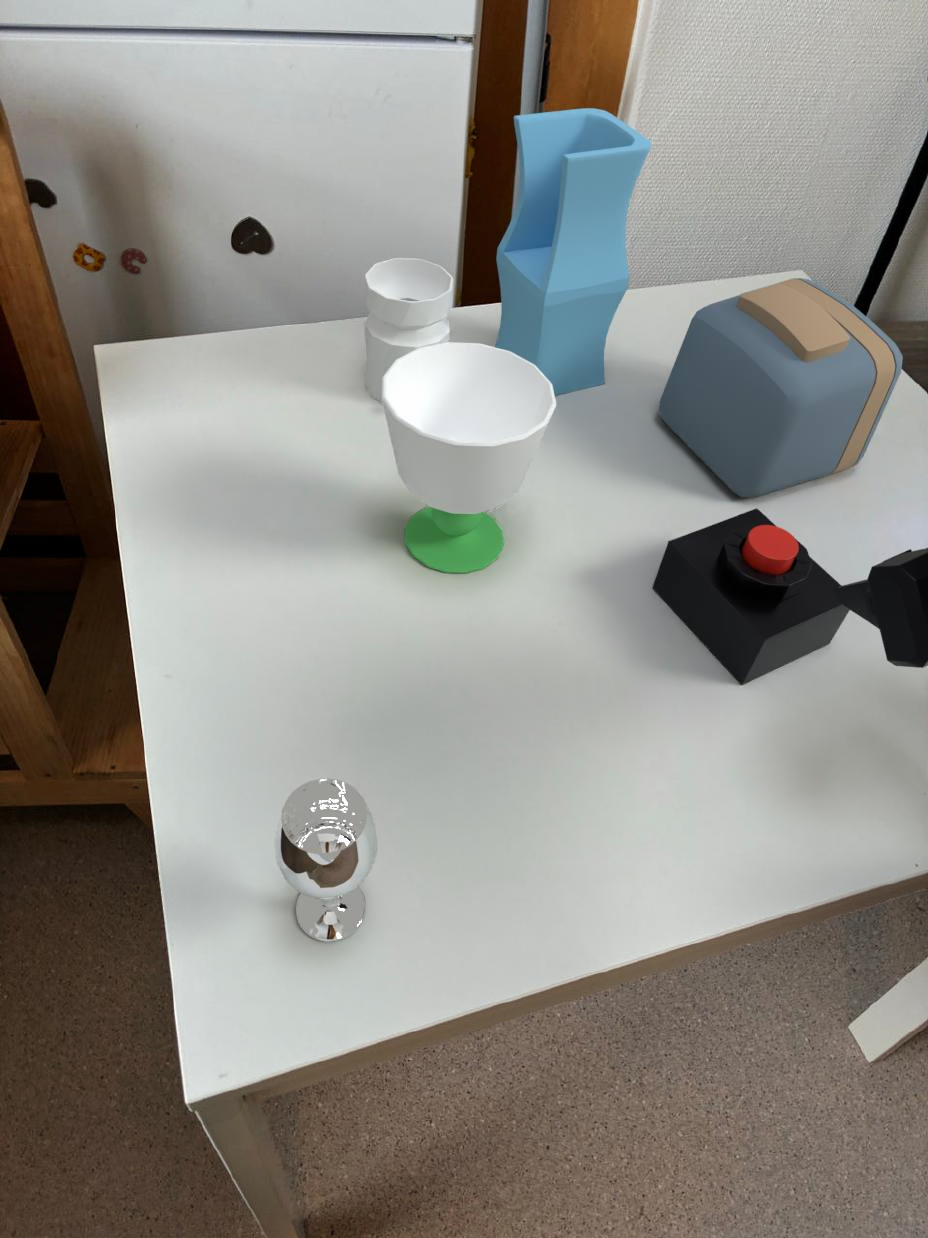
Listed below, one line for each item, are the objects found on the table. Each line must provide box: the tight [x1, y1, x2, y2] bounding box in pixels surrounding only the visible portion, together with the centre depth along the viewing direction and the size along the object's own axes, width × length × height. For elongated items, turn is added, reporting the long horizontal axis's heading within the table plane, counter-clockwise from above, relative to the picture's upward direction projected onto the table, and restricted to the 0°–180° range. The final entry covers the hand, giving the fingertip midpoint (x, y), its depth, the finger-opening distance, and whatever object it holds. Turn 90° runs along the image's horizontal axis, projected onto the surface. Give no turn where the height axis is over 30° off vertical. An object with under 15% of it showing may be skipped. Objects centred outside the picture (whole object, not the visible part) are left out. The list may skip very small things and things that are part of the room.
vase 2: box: [494, 107, 652, 397], centre depth 91 cm, size 10×10×25 cm
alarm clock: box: [658, 277, 904, 498], centre depth 89 cm, size 16×16×16 cm
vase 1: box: [363, 257, 454, 404], centre depth 92 cm, size 9×9×12 cm
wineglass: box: [274, 778, 378, 943], centre depth 53 cm, size 6×6×12 cm
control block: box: [651, 507, 851, 686], centre depth 75 cm, size 12×10×8 cm
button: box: [742, 525, 799, 575], centre depth 72 cm, size 4×4×2 cm
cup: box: [381, 341, 557, 574], centre depth 76 cm, size 14×14×16 cm
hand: (882, 575), depth 63 cm, fingers open, 8 cm apart
